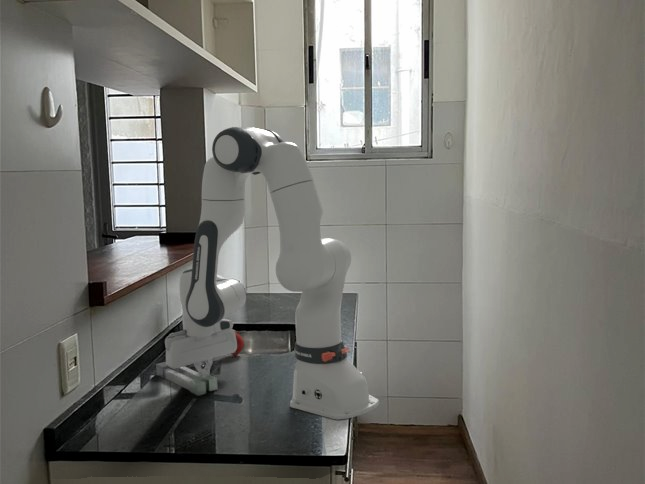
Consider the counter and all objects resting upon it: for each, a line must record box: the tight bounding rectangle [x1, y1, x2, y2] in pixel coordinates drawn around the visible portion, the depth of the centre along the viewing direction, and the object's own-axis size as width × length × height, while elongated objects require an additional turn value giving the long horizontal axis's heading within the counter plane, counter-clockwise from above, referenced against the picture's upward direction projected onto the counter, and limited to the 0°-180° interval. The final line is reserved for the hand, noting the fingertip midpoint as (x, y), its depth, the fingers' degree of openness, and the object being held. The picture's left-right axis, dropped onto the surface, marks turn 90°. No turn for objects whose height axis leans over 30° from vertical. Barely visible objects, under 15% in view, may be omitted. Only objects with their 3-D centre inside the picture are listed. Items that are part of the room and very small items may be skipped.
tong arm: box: [179, 366, 219, 392], centre depth 176 cm, size 21×2×4 cm, turn 40°
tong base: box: [155, 361, 207, 397], centre depth 176 cm, size 24×6×3 cm, turn 40°
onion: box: [230, 329, 245, 357], centre depth 198 cm, size 6×6×8 cm
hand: (204, 376), depth 176 cm, fingers closed
